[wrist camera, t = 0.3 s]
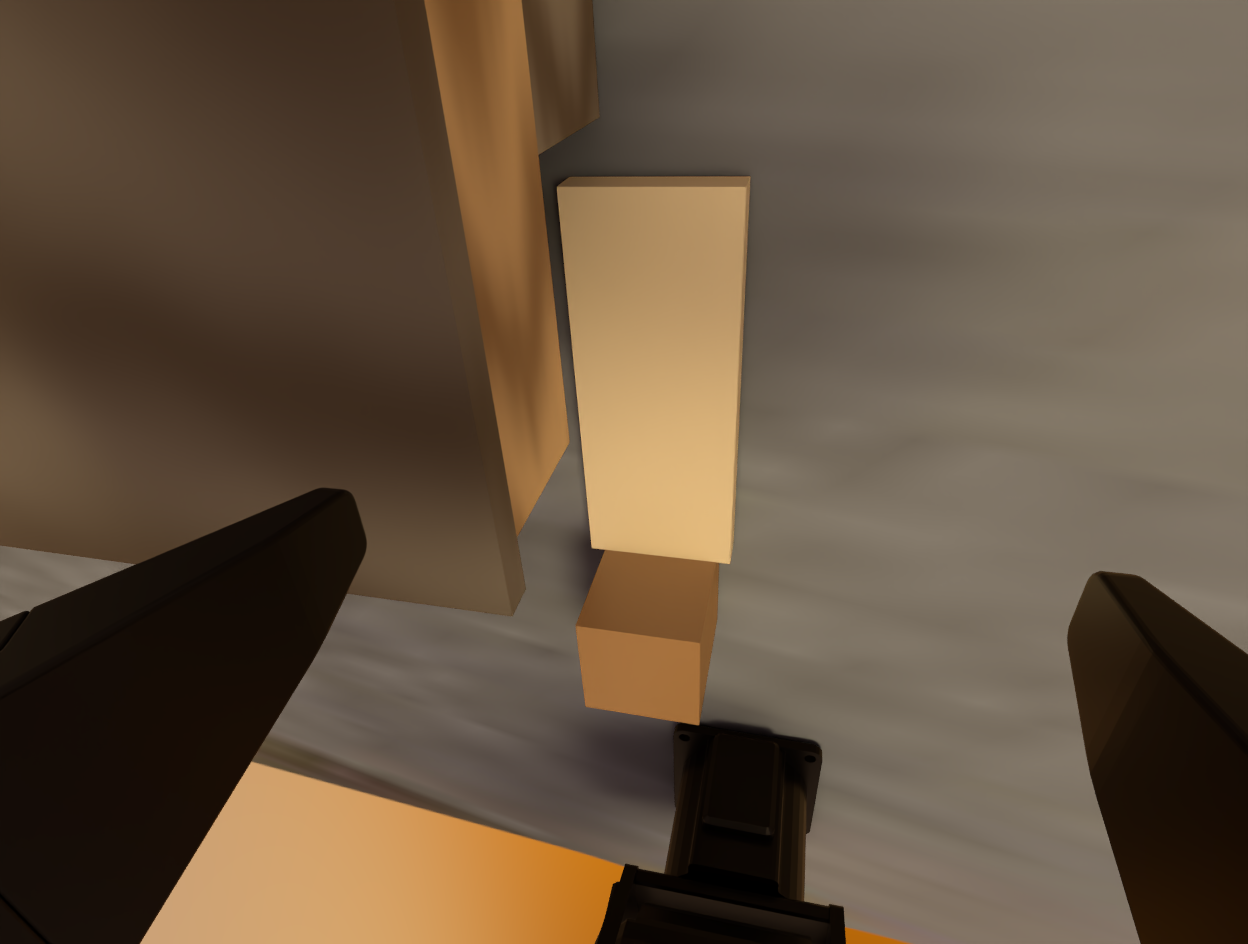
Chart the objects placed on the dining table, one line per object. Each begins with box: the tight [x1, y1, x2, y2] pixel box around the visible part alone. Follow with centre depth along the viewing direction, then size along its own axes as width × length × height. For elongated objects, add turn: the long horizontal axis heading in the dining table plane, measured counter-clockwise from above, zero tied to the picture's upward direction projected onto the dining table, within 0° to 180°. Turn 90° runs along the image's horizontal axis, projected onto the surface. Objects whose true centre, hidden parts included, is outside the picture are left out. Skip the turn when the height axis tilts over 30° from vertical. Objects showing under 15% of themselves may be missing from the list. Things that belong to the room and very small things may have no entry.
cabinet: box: [0, 0, 600, 616], centre depth 17 cm, size 11×15×11 cm
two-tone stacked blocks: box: [557, 176, 750, 725], centre depth 22 cm, size 16×5×5 cm, turn 3°
